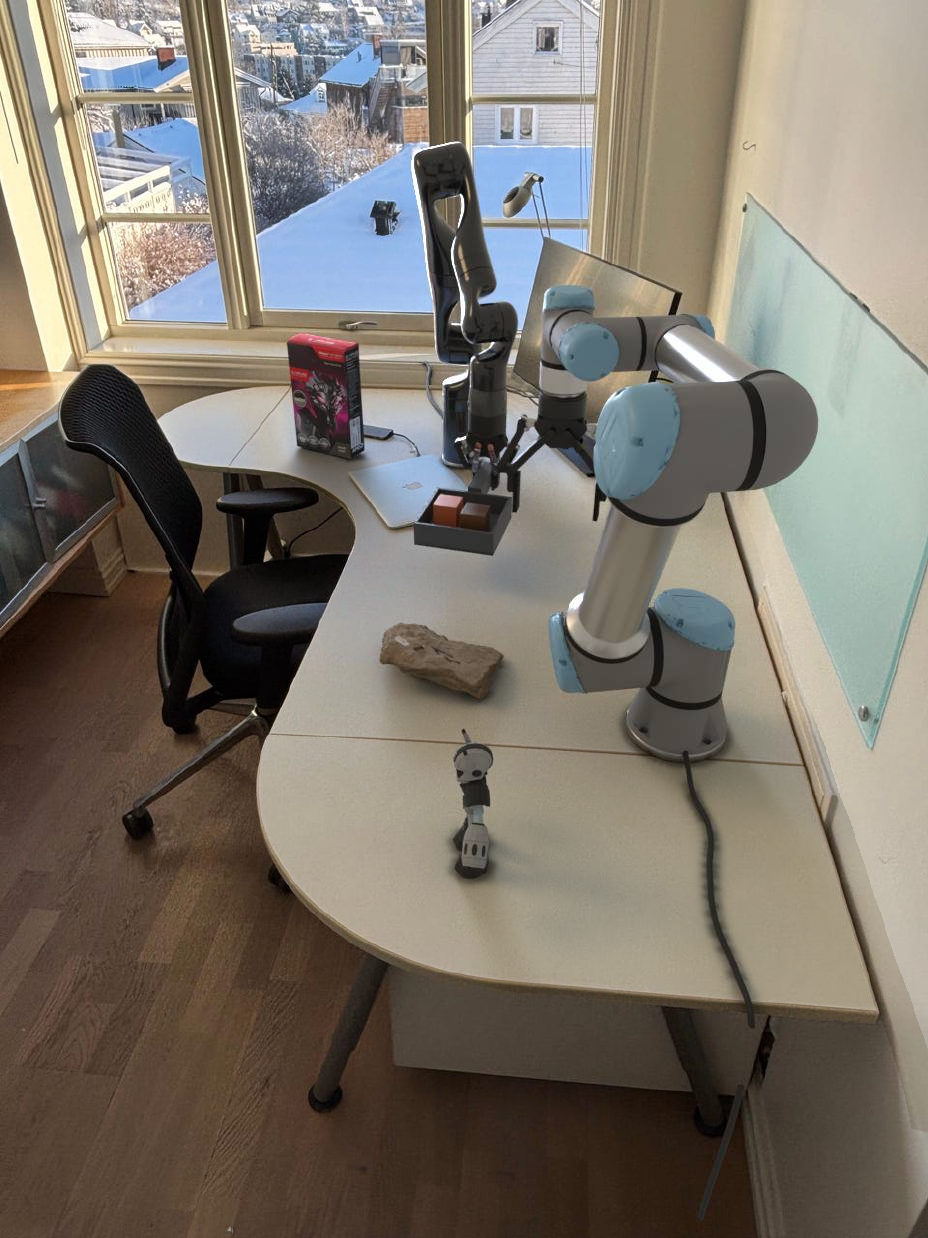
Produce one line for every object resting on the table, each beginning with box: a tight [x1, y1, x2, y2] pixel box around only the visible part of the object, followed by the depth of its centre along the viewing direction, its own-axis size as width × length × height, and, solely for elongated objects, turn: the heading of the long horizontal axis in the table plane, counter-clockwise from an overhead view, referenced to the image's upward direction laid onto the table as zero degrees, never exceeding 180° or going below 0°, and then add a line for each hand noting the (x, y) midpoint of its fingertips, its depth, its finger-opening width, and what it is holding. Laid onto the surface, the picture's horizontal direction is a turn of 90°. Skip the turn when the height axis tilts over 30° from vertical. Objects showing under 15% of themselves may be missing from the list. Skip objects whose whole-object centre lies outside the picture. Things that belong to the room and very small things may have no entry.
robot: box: [452, 728, 494, 879], centre depth 116 cm, size 20×5×20 cm, turn 3°
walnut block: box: [461, 502, 490, 532], centre depth 171 cm, size 4×4×6 cm
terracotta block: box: [433, 494, 463, 528], centre depth 174 cm, size 4×4×6 cm
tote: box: [413, 461, 513, 557], centre depth 180 cm, size 27×15×6 cm, turn 165°
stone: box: [379, 622, 505, 699], centre depth 153 cm, size 21×15×6 cm
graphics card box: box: [286, 332, 366, 459], centre depth 224 cm, size 17×7×27 cm, turn 62°
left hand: (485, 487), depth 189 cm, fingers closed on tote, 2 cm apart
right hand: (555, 513), depth 155 cm, fingers open, 13 cm apart
